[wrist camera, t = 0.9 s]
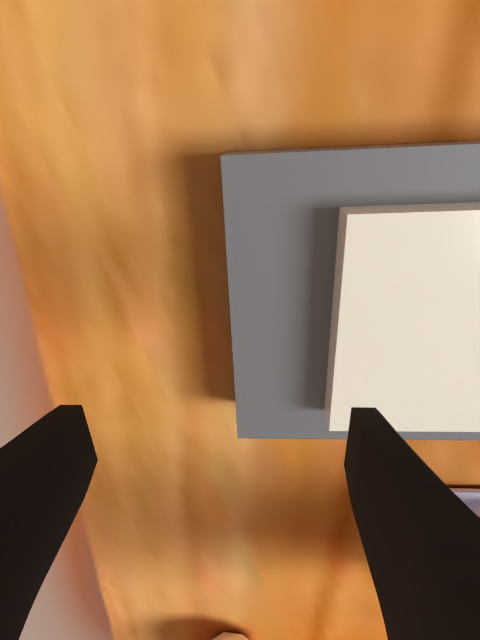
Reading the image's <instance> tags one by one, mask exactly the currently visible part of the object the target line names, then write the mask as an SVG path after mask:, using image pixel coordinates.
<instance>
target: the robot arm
mask: <svg viewBox="0 0 480 640" xmlns="http://www.w3.org/2000/svg"><path fill="white" fill-rule="evenodd" d="M97 460H98V459H97V456H96V452H95V449H94V445H93V442H92V438H91V435H90V432H89V428H88V425H87V421H86V418H85V414H84V411H83V408H82V405H60V406H58V407H57V408H55V409H54V410H52V411H51V412H49V413H48V414H46V415H45V416H44V417H42V418H41V419H39V420H38V421H37V422H35V423H34V424H33V425H31V426H30V427H29V428H27V429H26V430H25V431H23V432H22V433H21V434H19V435H18V436H16V437H15V438H14V439H12V440H11V441H10V442H8V443H7V444H6V445H4V446H3V447H1V448H0V640H19V637H20V635H21V632H22V630H23V627H24V625H25V622H26V619H27V617H28V614H29V612H30V609H31V607H32V605H33V603H34V600H35V598H36V596H37V593H38V591H39V589H40V587H41V585H42V583H43V581H44V579H45V577H46V575H47V573H48V571H49V569H50V566H51V565H52V563H53V561H54V559H55V557H56V555H57V553H58V551H59V549H60V547H61V545H62V543H63V541H64V539H65V537H66V535H67V533H68V530H69V529H70V527H71V524H72V522H73V520H74V518H75V516H76V514H77V512H78V510H79V508H80V506H81V504H82V502H83V500H84V498H85V495H86V492H87V490H88V487H89V484H90V481H91V479H92V476H93V473H94V470H95V466H96V463H97ZM344 466H345V472H346V478H347V484H348V490H349V495H350V501H351V505H352V509H353V513H354V516H355V520H356V523H357V527H358V530H359V534H360V537H361V541H362V544H363V547H364V551H365V554H366V558H367V561H368V565H369V568H370V572H371V575H372V578H373V582H374V585H375V589H376V592H377V596H378V599H379V603H380V607H381V611H382V615H383V619H384V623H385V627H386V632H387V637H388V640H480V489H469V488H449V487H448V486H447V485H446V484H445V483H444V482H443V481H442V480H441V479H440V478H439V477H438V476H437V475H436V474H435V473H434V472H433V471H432V470H431V469H430V468H429V467H428V466H427V465H426V464H425V462H424V461H423V460H422V459H421V458H420V457H419V456H418V455H417V454H416V453H415V452H414V451H413V449H412V448H411V447H410V446H409V445H408V444H407V443H406V442H405V440H404V439H403V438H402V437H401V436H400V435H399V434H398V432H397V431H396V430H395V429H394V428H393V427H392V426H391V424H390V423H389V422H388V421H387V420H386V419H385V417H384V416H383V415H382V414H381V413H380V412H379V411H378V410H377V409H376V408H371V407H351V414H350V422H349V430H348V438H347V446H346V454H345V462H344Z"/></svg>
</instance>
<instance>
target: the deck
mask: <svg viewBox="0 0 480 640" xmlns="http://www.w3.org/2000/svg"><path fill="white" fill-rule="evenodd" d="M220 158H221V174H222V190H223V206H224V223H225V239H226V255H227V271H228V287H229V303H230V320H231V336H232V352H233V368H234V384H235V401H236V417H237V433H238V438H253V439H347V438H348V431H329V428H328V424H327V419H326V415H325V410H324V408H325V395H326V382H327V368H328V355H329V342H330V329H331V315H332V302H333V289H334V276H335V263H336V249H337V236H338V223H339V210H340V207H350V206H379V205H408V204H437V203H466V202H480V140H474V141H452V142H430V143H408V144H387V145H365V146H343V147H321V148H299V149H277V150H255V151H233V152H226V153H224V154H222V155H220ZM397 432H398V434H399V435H400V436H401V437H402V438H403V439H404V440H480V432H408V431H397Z"/></svg>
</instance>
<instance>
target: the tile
mask: <svg viewBox="0 0 480 640" xmlns="http://www.w3.org/2000/svg"><path fill="white" fill-rule="evenodd" d="M351 407H371V408H376V409H377V410H378V411H379V412H380V413H381V414H382V415H383V416H384V417H385V419H386V420H387V421H388V422H389V423H390V424H391V426H392V427H393V428H394V429H395V430H396V431H408V432H480V202H466V203H437V204H408V205H379V206H350V207H340V210H339V223H338V236H337V249H336V263H335V276H334V289H333V302H332V315H331V329H330V342H329V355H328V368H327V382H326V395H325V408H324V410H325V415H326V419H327V424H328V428H329V431H348V430H349V422H350V414H351Z"/></svg>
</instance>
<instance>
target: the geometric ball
mask: <svg viewBox="0 0 480 640" xmlns="http://www.w3.org/2000/svg"><path fill="white" fill-rule="evenodd" d="M212 640H249V639H248V638H246V637H245V636H244V635H242V634H235V633H228V632H223V633H221V634H220V635H218V636H217V637H215V638H214V639H212Z"/></svg>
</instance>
